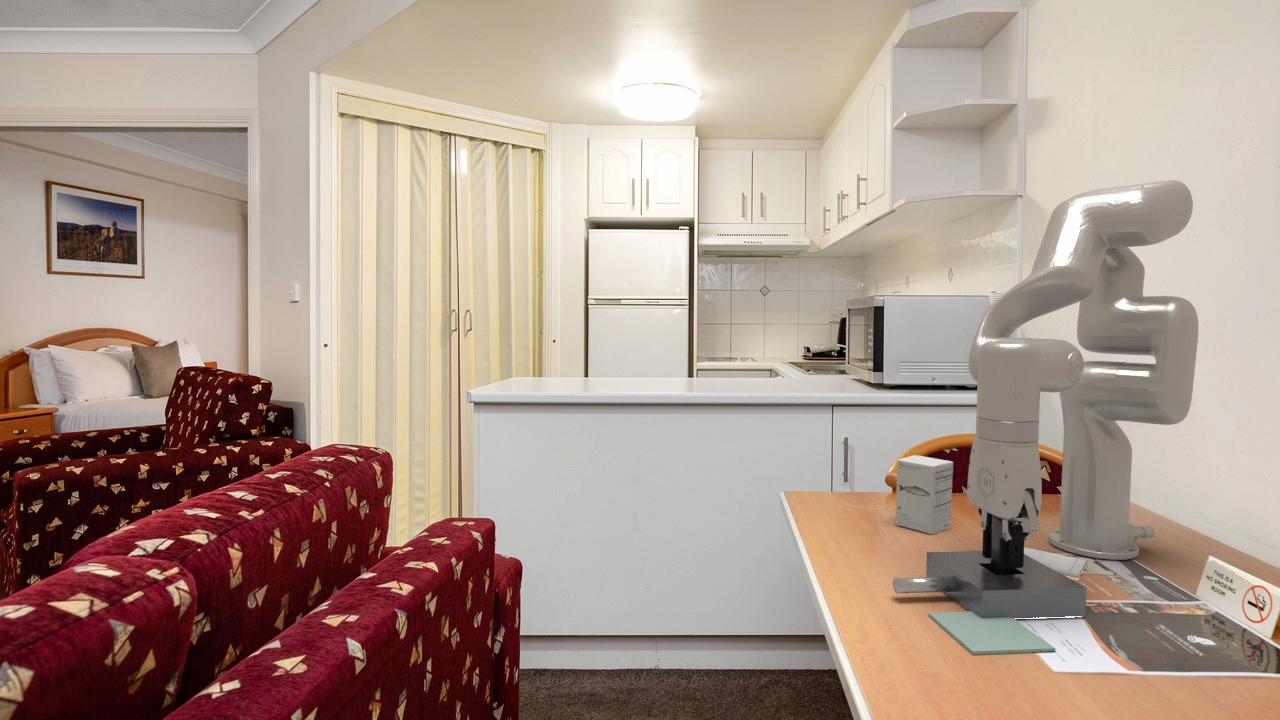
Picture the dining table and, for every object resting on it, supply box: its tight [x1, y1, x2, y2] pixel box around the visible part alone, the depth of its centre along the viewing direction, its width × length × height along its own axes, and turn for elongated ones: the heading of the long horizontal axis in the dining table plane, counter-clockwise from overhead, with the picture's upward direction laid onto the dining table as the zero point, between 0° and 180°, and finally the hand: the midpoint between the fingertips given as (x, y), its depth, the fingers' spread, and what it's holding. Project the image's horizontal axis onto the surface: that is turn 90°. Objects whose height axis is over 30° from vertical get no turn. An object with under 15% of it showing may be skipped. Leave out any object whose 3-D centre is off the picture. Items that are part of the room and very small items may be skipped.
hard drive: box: [1024, 546, 1088, 578], centre depth 104 cm, size 2×8×12 cm
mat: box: [928, 611, 1056, 656], centre depth 81 cm, size 10×10×1 cm
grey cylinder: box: [990, 515, 1018, 575], centre depth 91 cm, size 3×3×13 cm
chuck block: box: [892, 550, 1088, 619], centre depth 91 cm, size 22×14×4 cm, turn 94°
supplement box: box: [894, 454, 954, 535], centre depth 122 cm, size 7×7×13 cm
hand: (1002, 561), depth 91 cm, fingers closed on grey cylinder, 3 cm apart
